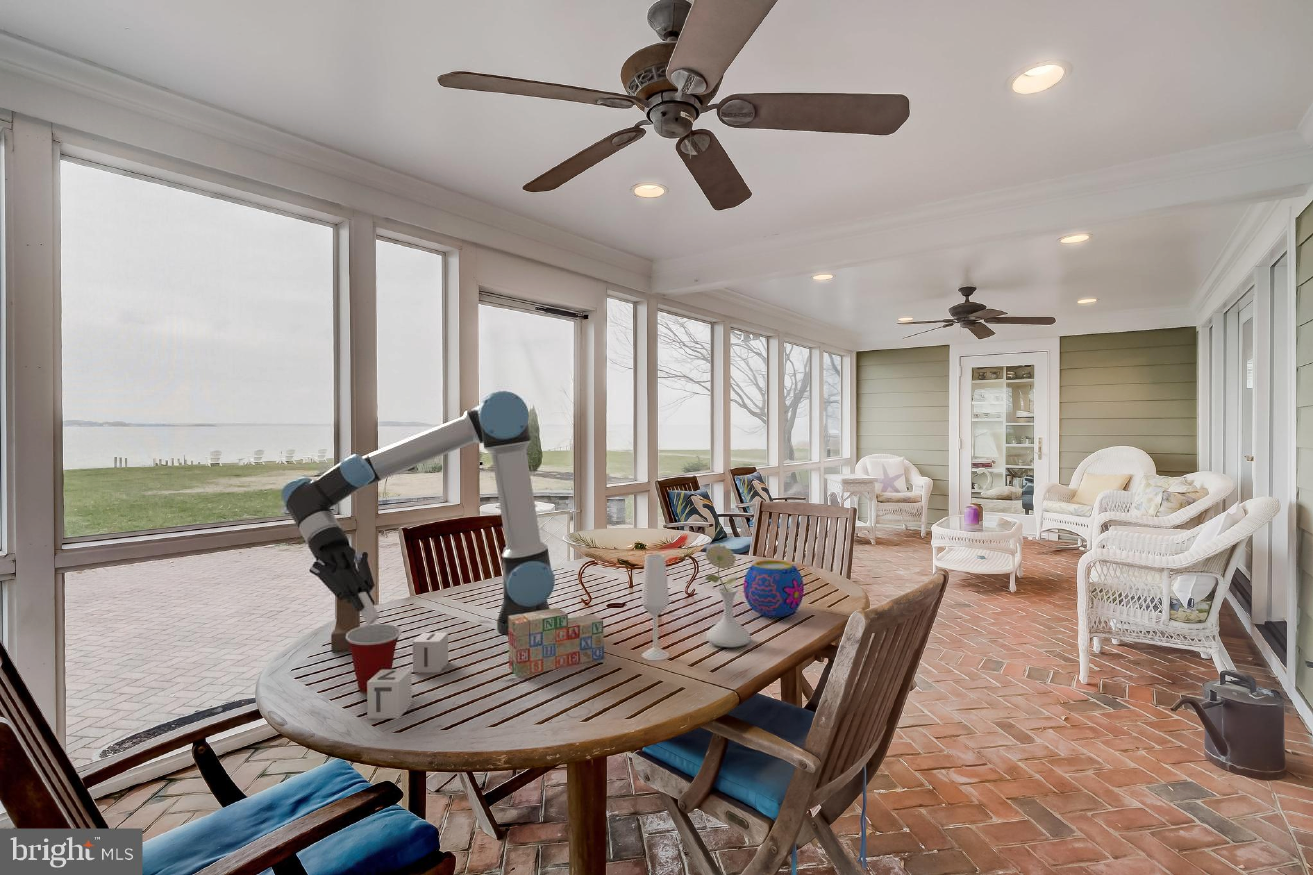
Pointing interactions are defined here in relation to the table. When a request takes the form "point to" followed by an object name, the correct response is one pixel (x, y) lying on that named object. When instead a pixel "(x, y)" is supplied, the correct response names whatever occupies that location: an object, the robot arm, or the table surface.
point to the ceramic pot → (773, 588)
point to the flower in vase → (725, 602)
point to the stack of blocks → (552, 640)
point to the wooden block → (344, 625)
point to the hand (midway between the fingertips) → (373, 620)
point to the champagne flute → (655, 598)
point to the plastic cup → (372, 650)
